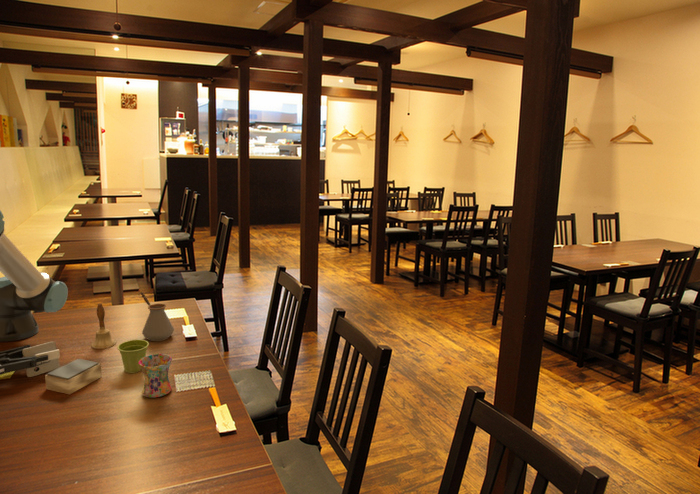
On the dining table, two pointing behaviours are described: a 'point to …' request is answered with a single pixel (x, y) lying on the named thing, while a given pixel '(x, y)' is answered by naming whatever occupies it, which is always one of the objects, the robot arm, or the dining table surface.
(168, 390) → the mug
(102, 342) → the hand bell
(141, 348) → the plant pot
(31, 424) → the dining table surface
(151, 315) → the coffee pot
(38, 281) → the robot arm
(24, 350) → the electrical switch
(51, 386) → the birch stand
